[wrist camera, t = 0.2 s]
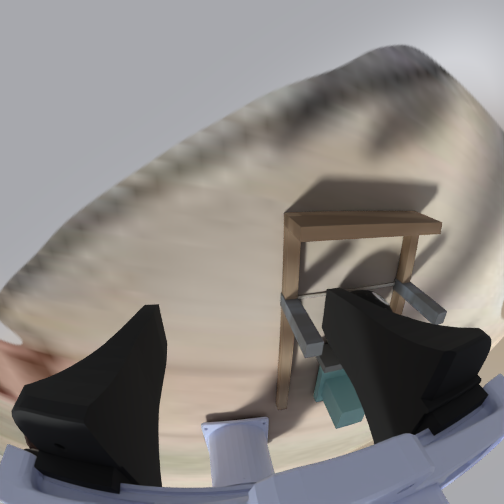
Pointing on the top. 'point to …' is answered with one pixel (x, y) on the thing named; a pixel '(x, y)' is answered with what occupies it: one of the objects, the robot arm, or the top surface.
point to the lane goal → (298, 320)
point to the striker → (336, 390)
